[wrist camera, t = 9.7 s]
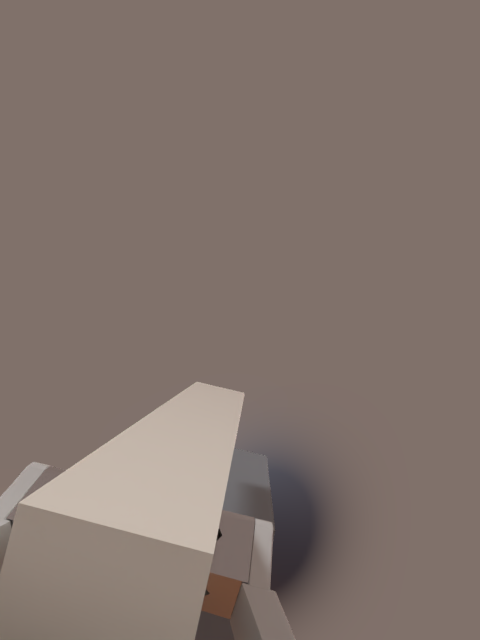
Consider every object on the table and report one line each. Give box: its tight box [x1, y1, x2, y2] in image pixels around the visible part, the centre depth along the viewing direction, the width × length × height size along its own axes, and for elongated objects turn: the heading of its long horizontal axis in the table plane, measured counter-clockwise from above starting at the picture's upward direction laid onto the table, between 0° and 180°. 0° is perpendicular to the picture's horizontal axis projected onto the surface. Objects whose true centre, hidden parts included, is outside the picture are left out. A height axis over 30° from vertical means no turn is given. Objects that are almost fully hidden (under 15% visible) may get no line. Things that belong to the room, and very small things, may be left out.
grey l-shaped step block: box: [195, 448, 275, 640], centre depth 28 cm, size 24×14×26 cm, turn 88°
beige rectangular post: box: [0, 382, 244, 640], centre depth 17 cm, size 4×21×3 cm, turn 177°
